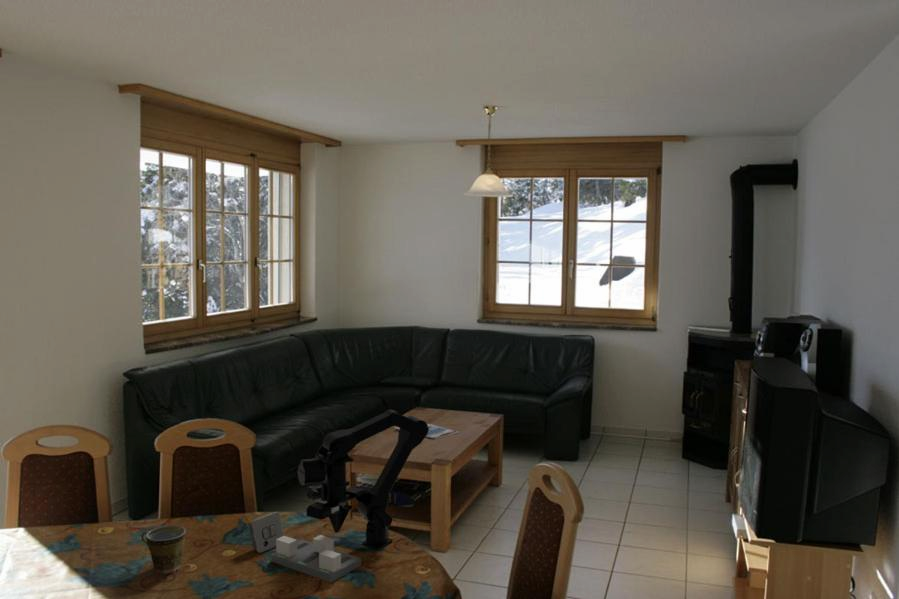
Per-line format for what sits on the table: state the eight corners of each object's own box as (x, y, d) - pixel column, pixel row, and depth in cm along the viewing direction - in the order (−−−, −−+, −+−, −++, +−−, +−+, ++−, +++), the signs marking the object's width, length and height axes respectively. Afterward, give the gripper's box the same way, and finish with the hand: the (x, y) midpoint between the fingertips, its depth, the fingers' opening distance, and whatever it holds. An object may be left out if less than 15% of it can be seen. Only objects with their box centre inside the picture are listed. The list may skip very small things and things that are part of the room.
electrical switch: (259, 554, 214) (256, 522, 214) (247, 551, 218) (245, 519, 217) (285, 543, 222) (283, 512, 221) (274, 540, 225) (271, 509, 224)
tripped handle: (320, 546, 214) (320, 534, 213) (333, 551, 211) (333, 539, 211) (313, 550, 211) (312, 538, 211) (326, 555, 208) (326, 542, 208)
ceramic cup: (194, 563, 208) (193, 528, 207) (170, 579, 199) (168, 542, 198) (155, 556, 213) (154, 521, 212) (129, 572, 203) (128, 535, 202)
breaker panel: (302, 546, 220) (301, 526, 219) (360, 565, 208) (360, 544, 207) (271, 561, 210) (270, 540, 209) (330, 582, 198) (330, 560, 197)
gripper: (336, 464, 226) (337, 515, 227) (291, 482, 210) (292, 536, 212) (365, 471, 220) (366, 523, 221) (321, 490, 204) (322, 546, 206)
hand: (336, 532), depth 215 cm, fingers closed
